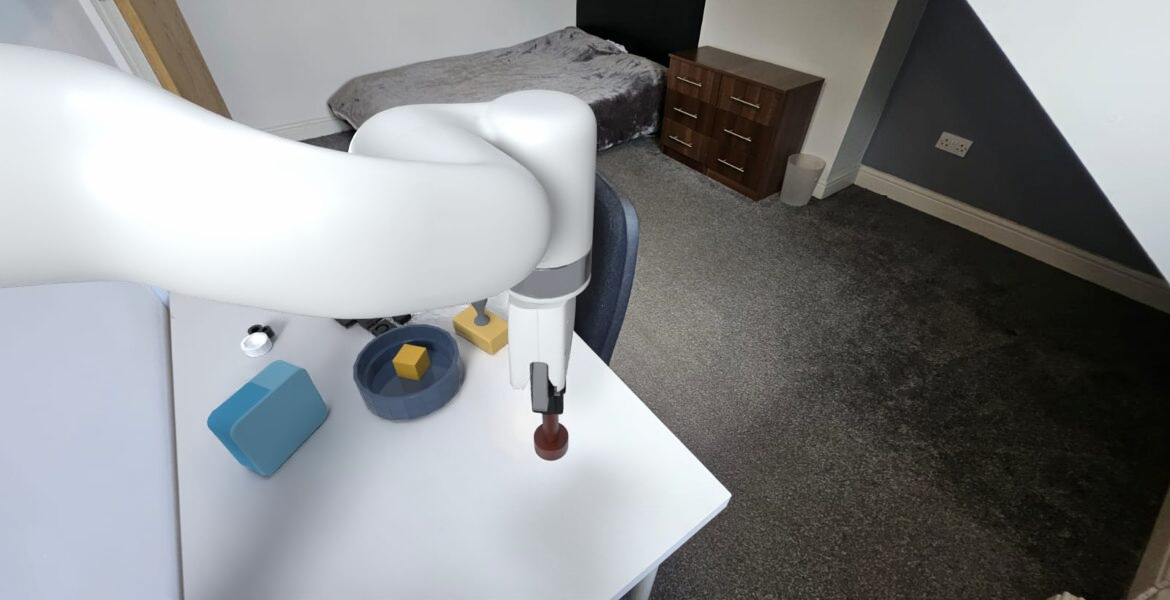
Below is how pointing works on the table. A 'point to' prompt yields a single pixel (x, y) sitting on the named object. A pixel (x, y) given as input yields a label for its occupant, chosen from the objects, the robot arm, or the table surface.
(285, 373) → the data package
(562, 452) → the red capped peg
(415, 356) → the block
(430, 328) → the bowl
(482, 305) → the rubber stamp
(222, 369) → the table surface
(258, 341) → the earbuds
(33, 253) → the robot arm
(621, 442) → the table surface
